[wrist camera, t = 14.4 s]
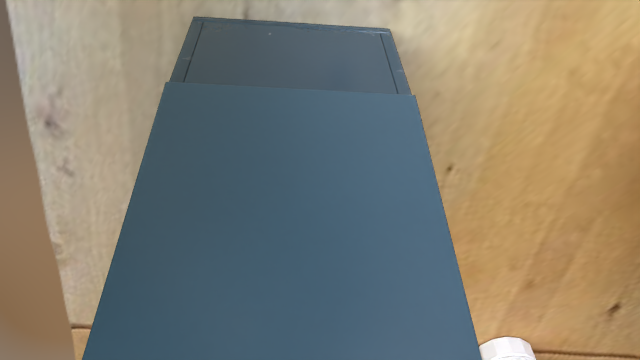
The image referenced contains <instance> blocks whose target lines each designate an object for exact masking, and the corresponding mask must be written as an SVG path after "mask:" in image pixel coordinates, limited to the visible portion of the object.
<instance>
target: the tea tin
mask: <svg viewBox="0 0 640 360" xmlns="http://www.w3.org/2000/svg"><path fill="white" fill-rule="evenodd" d="M169 82H179V83H197V84H216V85H234V86H253V87H271V88H290V89H308V90H327V91H345V92H364V93H382V94H401V95H412V94H411V91H410V88H409V85H408V82H407V79H406V76H405V73H404V70H403V67H402V64H401V61H400V58H399V55H398V52H397V49H396V46H395V43H394V40H393V37H392V34H391V32H390V29H384V28H368V27H352V26H336V25H320V24H304V23H289V22H273V21H257V20H241V19H225V18H209V17H193V20H192V22H191V25H190V27H189V30H188V33H187V35H186V38H185V41H184V43H183V46H182V49H181V51H180V54H179V57H178V59H177V62H176V65H175V67H174V70H173V73H172V75H171V78H170V81H169Z"/></svg>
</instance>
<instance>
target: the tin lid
mask: <svg viewBox="0 0 640 360" xmlns="http://www.w3.org/2000/svg"><path fill="white" fill-rule="evenodd" d="M82 360H482V358H481V354H480V350H479V346H478V342H477V338H476V334H475V330H474V326H473V322H472V318H471V314H470V310H469V306H468V302H467V298H466V294H465V291H464V287H463V283H462V279H461V275H460V271H459V267H458V263H457V259H456V255H455V251H454V247H453V243H452V239H451V235H450V231H449V227H448V223H447V219H446V215H445V211H444V207H443V203H442V199H441V196H440V192H439V188H438V184H437V180H436V176H435V172H434V168H433V164H432V160H431V156H430V152H429V148H428V144H427V140H426V136H425V132H424V128H423V124H422V120H421V116H420V112H419V108H418V104H417V101H416V97H415V95H401V94H382V93H364V92H345V91H327V90H308V89H290V88H271V87H253V86H234V85H216V84H197V83H179V82H166V83H165V86H164V90H163V93H162V96H161V100H160V103H159V106H158V110H157V113H156V116H155V120H154V123H153V126H152V129H151V133H150V136H149V139H148V143H147V146H146V149H145V153H144V156H143V159H142V163H141V166H140V169H139V173H138V176H137V179H136V182H135V186H134V189H133V192H132V196H131V199H130V202H129V206H128V209H127V212H126V216H125V219H124V222H123V225H122V229H121V232H120V235H119V239H118V242H117V245H116V249H115V252H114V255H113V259H112V262H111V265H110V269H109V272H108V275H107V278H106V282H105V285H104V288H103V292H102V295H101V298H100V302H99V305H98V308H97V312H96V315H95V318H94V322H93V325H92V328H91V331H90V335H89V338H88V341H87V345H86V348H85V351H84V355H83V358H82Z"/></svg>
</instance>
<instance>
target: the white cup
mask: <svg viewBox="0 0 640 360" xmlns="http://www.w3.org/2000/svg"><path fill="white" fill-rule="evenodd" d="M479 350H480V354H481V358H482V360H537V359H536V357H535V355H534V352H533V350H532V348H531V346H530V344H529V343H528V342H526V341H524V340H522V339H520V338H515V337H502V338H496V339H492V340H490V341H488V342H486V343H484V344H482V345H480V346H479Z"/></svg>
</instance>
